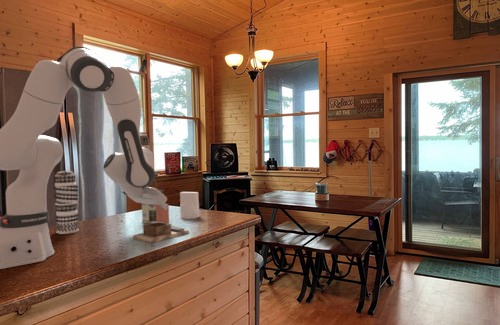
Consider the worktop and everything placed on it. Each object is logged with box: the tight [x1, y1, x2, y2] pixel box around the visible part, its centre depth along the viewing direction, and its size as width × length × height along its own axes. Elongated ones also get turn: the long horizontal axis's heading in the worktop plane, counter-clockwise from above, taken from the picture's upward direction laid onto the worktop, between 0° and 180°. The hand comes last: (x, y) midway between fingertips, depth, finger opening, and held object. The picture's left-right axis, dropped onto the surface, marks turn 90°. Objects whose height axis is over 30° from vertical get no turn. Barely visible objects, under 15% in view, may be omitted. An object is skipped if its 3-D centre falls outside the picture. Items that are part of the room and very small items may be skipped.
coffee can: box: [141, 189, 165, 224], centre depth 173 cm, size 10×10×14 cm
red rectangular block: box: [156, 203, 170, 224], centre depth 157 cm, size 4×4×10 cm
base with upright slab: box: [179, 191, 200, 220], centre depth 181 cm, size 9×9×12 cm
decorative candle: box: [52, 170, 80, 235], centre depth 154 cm, size 9×9×25 cm
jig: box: [132, 222, 190, 244], centre depth 143 cm, size 18×11×5 cm, turn 141°
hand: (159, 207), depth 154 cm, fingers open, 8 cm apart
